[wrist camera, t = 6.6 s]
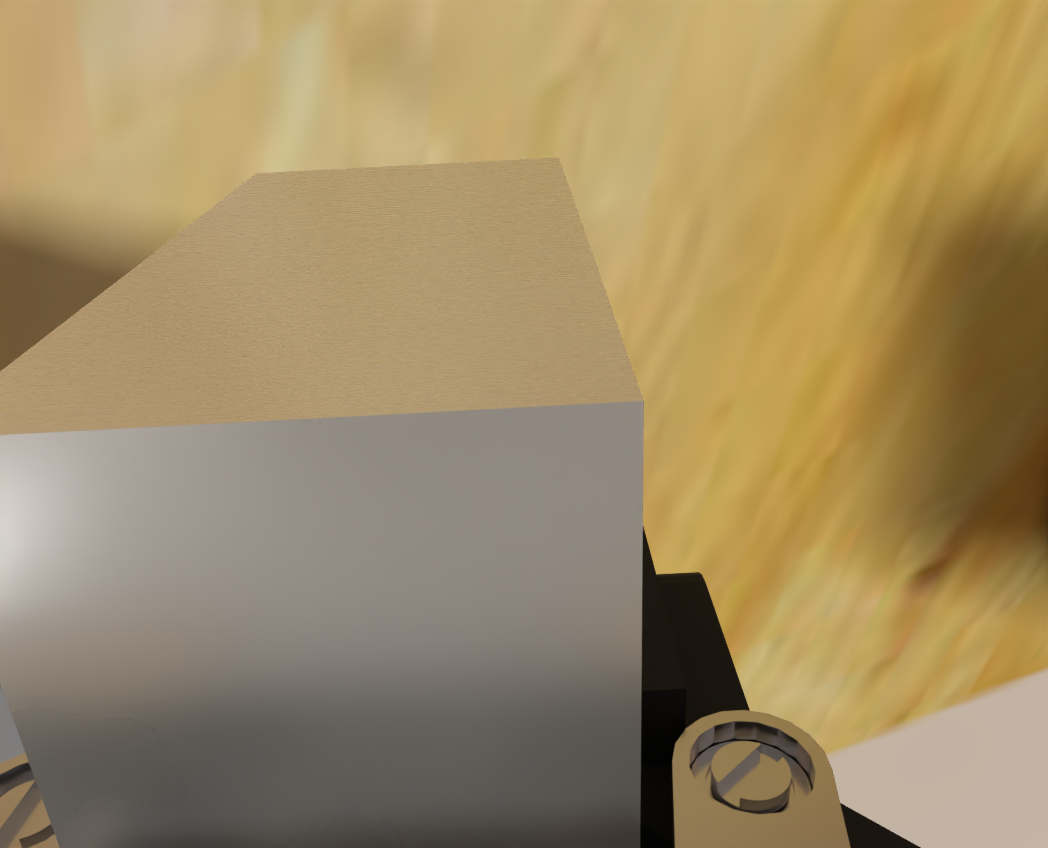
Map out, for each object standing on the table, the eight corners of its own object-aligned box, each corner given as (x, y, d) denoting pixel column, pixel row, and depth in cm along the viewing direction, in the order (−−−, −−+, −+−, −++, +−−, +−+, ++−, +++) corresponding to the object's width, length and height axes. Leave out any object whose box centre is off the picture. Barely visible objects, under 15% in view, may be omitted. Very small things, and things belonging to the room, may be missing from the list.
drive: (563, 157, 11) (655, 404, 4) (581, 793, 15) (641, 1389, 9) (252, 173, 11) (-106, 445, 4) (358, 806, 15) (254, 1409, 9)
